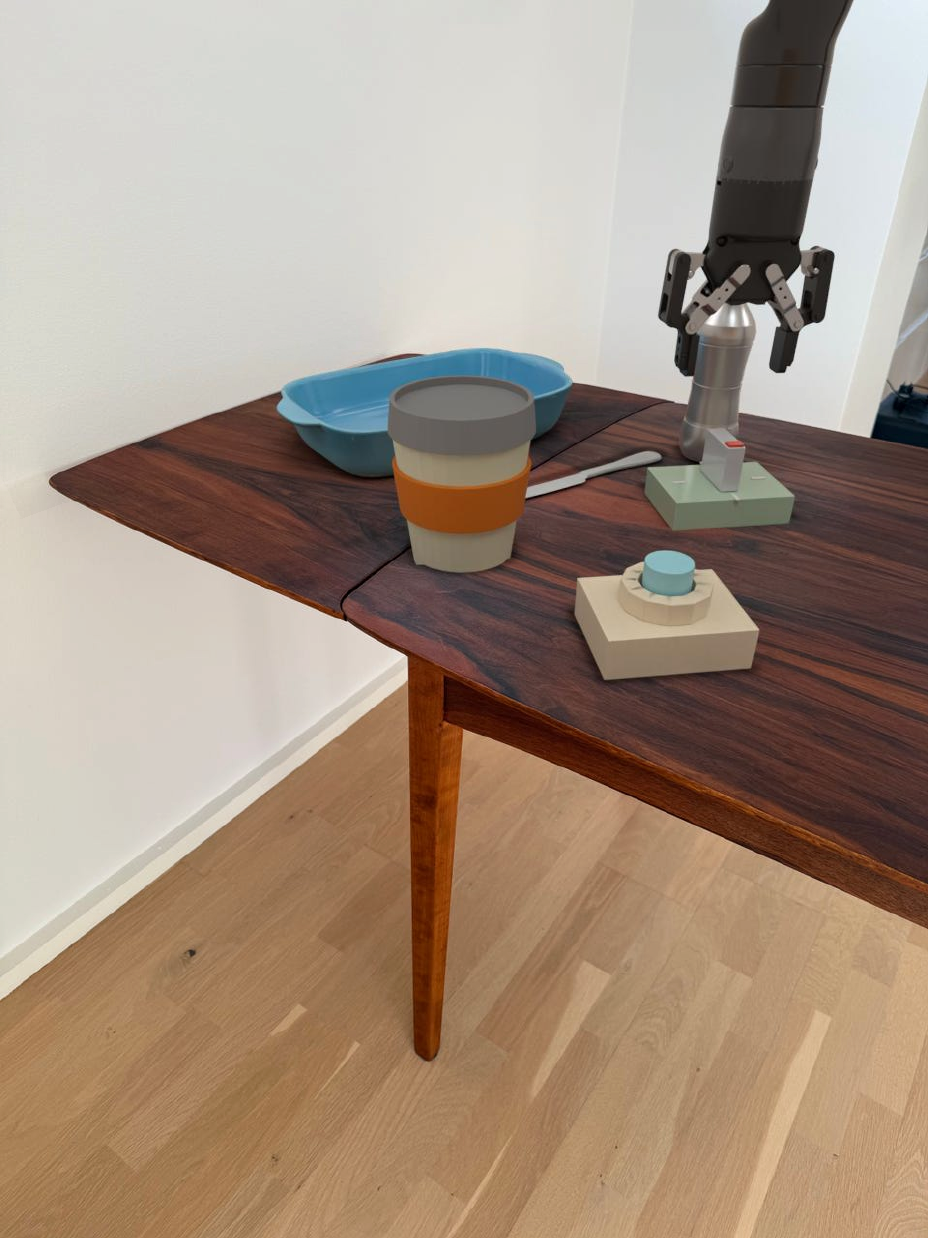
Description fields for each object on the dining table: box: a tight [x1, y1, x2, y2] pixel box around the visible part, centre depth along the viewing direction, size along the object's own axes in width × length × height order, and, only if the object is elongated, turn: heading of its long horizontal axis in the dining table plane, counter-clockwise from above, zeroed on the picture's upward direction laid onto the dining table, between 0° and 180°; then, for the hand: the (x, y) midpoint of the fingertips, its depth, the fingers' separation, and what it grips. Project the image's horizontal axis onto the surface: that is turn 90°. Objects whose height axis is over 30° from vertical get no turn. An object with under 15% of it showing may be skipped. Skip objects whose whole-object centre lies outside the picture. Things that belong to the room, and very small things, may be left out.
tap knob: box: [700, 428, 747, 492], centre depth 84 cm, size 6×2×5 cm, turn 7°
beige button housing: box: [574, 561, 760, 681], centre depth 64 cm, size 11×9×6 cm
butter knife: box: [525, 450, 663, 499], centre depth 93 cm, size 1×24×3 cm
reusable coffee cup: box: [388, 375, 536, 573], centre depth 74 cm, size 13×13×15 cm
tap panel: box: [644, 461, 796, 532], centre depth 86 cm, size 12×10×3 cm
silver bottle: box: [678, 303, 757, 463], centre depth 93 cm, size 6×7×20 cm
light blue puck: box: [642, 549, 696, 597], centre depth 62 cm, size 4×4×2 cm
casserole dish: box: [276, 347, 574, 478], centre depth 102 cm, size 37×22×7 cm, turn 123°
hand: (731, 372), depth 77 cm, fingers open, 8 cm apart
